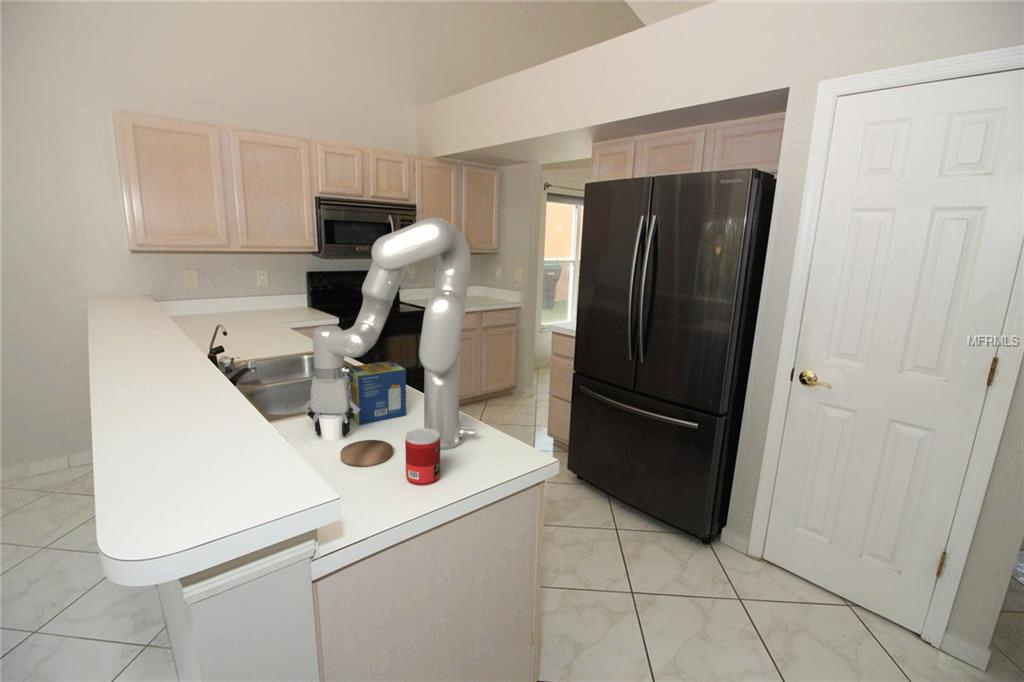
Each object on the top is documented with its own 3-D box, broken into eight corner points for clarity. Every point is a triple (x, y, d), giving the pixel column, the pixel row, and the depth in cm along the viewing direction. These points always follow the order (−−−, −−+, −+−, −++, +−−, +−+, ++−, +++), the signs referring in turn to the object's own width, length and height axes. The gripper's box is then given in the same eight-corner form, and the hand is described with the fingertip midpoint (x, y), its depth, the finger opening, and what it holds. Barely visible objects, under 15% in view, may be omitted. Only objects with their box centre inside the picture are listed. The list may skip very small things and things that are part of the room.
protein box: (346, 414, 149) (344, 366, 145) (393, 405, 158) (392, 360, 154) (358, 426, 140) (356, 375, 137) (407, 415, 150) (406, 368, 146)
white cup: (321, 444, 128) (319, 420, 126) (318, 434, 134) (317, 411, 132) (347, 440, 131) (346, 416, 129) (344, 430, 137) (343, 407, 135)
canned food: (442, 484, 110) (442, 440, 108) (407, 488, 108) (406, 443, 106) (437, 468, 118) (437, 426, 115) (404, 471, 115) (404, 429, 113)
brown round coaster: (397, 444, 130) (397, 440, 129) (386, 467, 117) (386, 463, 117) (349, 443, 129) (349, 439, 129) (333, 466, 116) (333, 462, 116)
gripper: (366, 369, 132) (368, 429, 136) (302, 367, 131) (306, 428, 135) (358, 377, 125) (360, 440, 129) (291, 375, 124) (295, 439, 128)
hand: (332, 433), depth 132 cm, fingers closed on white cup, 6 cm apart
